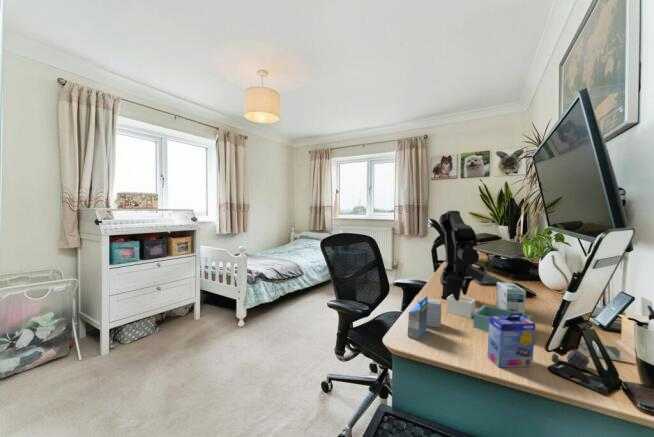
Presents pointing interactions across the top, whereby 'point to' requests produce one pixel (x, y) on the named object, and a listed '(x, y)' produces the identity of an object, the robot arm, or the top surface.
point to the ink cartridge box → (511, 340)
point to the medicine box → (433, 312)
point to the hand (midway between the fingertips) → (461, 297)
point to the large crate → (485, 311)
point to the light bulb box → (510, 297)
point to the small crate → (461, 306)
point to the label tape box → (418, 319)
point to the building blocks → (574, 359)
